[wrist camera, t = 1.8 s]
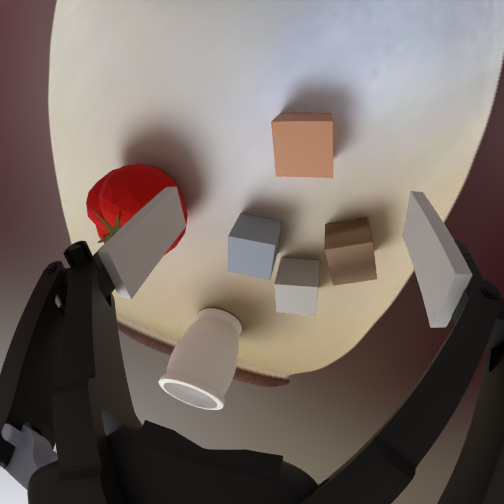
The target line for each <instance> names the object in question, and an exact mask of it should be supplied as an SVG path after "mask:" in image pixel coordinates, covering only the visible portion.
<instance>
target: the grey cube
mask: <svg viewBox="0 0 504 504" xmlns="http://www.w3.org/2000/svg"><path fill="white" fill-rule="evenodd" d="M319 268H320V260H310V259H293V258H281V260H280V264H279V268H278V272H277V276H276V280H275V284H274V286H275V299H276V312H279V313H290V314H301V315H314V316H315V315H316V306H317V295H318V283H319Z"/></svg>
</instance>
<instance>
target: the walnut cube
mask: <svg viewBox="0 0 504 504" xmlns="http://www.w3.org/2000/svg"><path fill="white" fill-rule="evenodd" d="M324 250H325V254H326V258H327V262H328V266H329V270H330V274H331V278H332V282H333V285H341V284H348V283H355V282H361V281H368V280H375V279H377V275H376V265H375V256H374V248H373V241H372V236H371V232H370V227H369V223H368V219H367V217H364V218H359V219H353V220H347V221H342V222H336V223H330V224H325V248H324Z"/></svg>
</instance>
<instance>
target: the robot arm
mask: <svg viewBox="0 0 504 504" xmlns="http://www.w3.org/2000/svg"><path fill="white" fill-rule="evenodd" d="M185 227H186V222H185V218H184V214H183V210H182V206H181V202H180V198H179V194H178V190H177V187H166V188H165V189H163V190H162V191H161V192H160V193H159V194H158V195H156V196H155V197H154V198H153V199H152V200H151V201H150V202H148V203H147V204H146V205H145V206H144V207H143V208H142V209H141V210H140V211H138V212H137V213H136V214H135V215H134V216H133V217H132V218H131V219H130V220H129V221H128V222H127V223H126V224H125V225H124V226H122V227H121V228H120V229H119V230H118V231H117V232H116V233H115V234H114V235H113V236H112V237H111V238H110V239H109V240H108V241H107V242H106V243H105V244H104V245H103V246H102V247H101V248H100V249H99V250H98V251H97V252H96V253H95V254H94V255H93V256H92V254H91V251H90V249H89V247H88V245H87V243H86V241H79V242H76V243H74V244H72V245H71V246H69V247H68V248H67V249H66V250H65V252H64V255H65V258H66V260H67V262H68V264H69V265H70V267H71V268H66V269H65V267H64V266H63V264H62V262H61V261H56V262H53V263H51V264H49V265H48V267H46V269H45V270H44V271H43V273H42V275H41V277H40V279H39V281H38V283H37V285H36V286H35V288H34V291H33V292H32V295H31V297H30V299H29V301H28V303H27V305H26V307H25V310H24V312H23V314H22V316H21V319H20V321H19V323H18V326H17V328H16V331H15V333H14V336H13V339H12V341H11V344H10V347H9V349H8V352H7V355H6V358H5V361H4V364H3V368H2V371H1V374H0V468H1V469H3V470H5V471H7V472H8V473H9V474H10V475H11V476H13V477H14V478H15V479H16V480H17V481H18V482H19V483H20V484H21V485H22V486H23V487H25V488H26V489H27V490H28V502H29V503H28V504H391V503H392V502H393V501H394V500H395V499H396V498H397V497H398V496H399V495H400V493H401V492H402V491H403V490H404V489H405V488H406V487H407V486H408V484H409V483H410V482H411V480H412V479H413V477H414V475H415V469H416V467H417V465H418V464H419V463H420V461H421V460H422V459H423V457H424V456H425V455H426V453H427V452H428V451H429V449H430V448H431V447H432V445H433V444H434V442H435V441H436V440H437V438H438V437H439V435H440V434H441V432H442V431H443V429H444V428H445V426H446V424H447V423H448V421H449V420H450V418H451V416H452V415H453V413H454V411H455V410H456V408H457V406H458V404H459V403H460V401H461V399H462V397H463V395H464V393H465V391H466V390H467V387H468V386H469V384H470V382H471V380H472V377H473V375H474V373H475V371H476V369H477V366H478V365H479V362H480V360H481V358H482V355H483V353H484V350H485V348H486V347H487V350H486V357H485V364H484V370H483V375H482V380H481V386H480V390H479V395H478V399H477V403H476V407H475V411H474V415H473V418H472V422H471V425H470V428H469V431H468V434H467V437H466V440H465V443H464V446H463V448H462V451H461V453H460V456H459V459H458V461H457V463H456V466H455V468H454V471H453V473H452V475H451V477H450V479H449V481H448V484H447V486H446V488H445V490H444V492H443V494H442V496H441V497H440V499H439V501H438V503H437V504H504V298H503V297H502V295H501V292H500V290H499V289H498V288H497V286H495V285H494V284H493V283H492V282H489V281H487V280H484V278H483V277H482V275H481V273H480V271H479V269H478V267H477V265H476V263H475V262H474V259H473V258H472V256H470V252H469V251H468V249H467V247H466V246H465V245H464V244H463V243H462V242H461V241H459V240H454V239H453V238H452V236H451V235H450V233H449V231H448V230H447V228H446V226H445V225H444V223H443V222H442V220H441V218H440V217H439V215H438V214H437V212H436V211H435V209H434V208H433V206H432V205H431V203H430V202H429V200H428V199H427V197H426V196H425V195H424V193H423V192H415V191H410V197H409V203H408V209H407V214H406V220H405V225H404V230H403V235H402V236H403V238H404V241H405V244H406V247H407V249H408V252H409V255H410V258H411V261H412V264H413V267H414V270H415V273H416V276H417V279H418V282H419V286H420V289H421V293H422V296H423V299H424V303H425V307H426V311H427V315H428V319H429V323H430V327H446V326H447V324H448V323H449V321H450V319H451V317H452V320H453V323H454V326H453V328H452V329H451V331H450V333H449V334H448V336H447V338H446V339H445V341H444V343H443V345H442V346H441V348H440V350H439V351H438V353H437V354H436V356H435V358H434V359H433V361H432V362H431V364H430V365H429V367H428V368H427V370H426V371H425V373H424V374H423V376H422V377H421V378H420V380H419V381H418V382H417V384H416V385H415V387H414V388H413V389H412V391H411V392H410V393H409V394H408V396H407V397H406V398H405V400H404V401H403V402H402V404H401V405H400V406H399V407H398V408H397V410H396V411H395V412H394V413H393V414H392V415H391V417H390V418H389V419H388V420H387V421H386V422H385V424H384V425H383V426H382V427H381V428H380V429H379V430H378V431H377V432H376V433H375V434H374V435H373V436H372V438H371V439H370V440H369V441H368V442H367V443H366V444H365V445H364V446H363V447H362V448H361V449H360V450H359V451H358V452H357V453H356V454H355V455H353V456H352V457H351V458H350V459H349V460H348V461H347V462H346V463H345V464H344V465H342V466H341V467H340V468H339V469H338V470H336V471H335V472H334V473H333V474H332V475H330V476H329V477H328V478H327V479H326V480H324V481H323V482H322V483H321V484H319V485H318V484H317V483H316V482H315V480H314V479H313V478H312V477H310V476H309V475H308V474H307V473H305V472H304V471H303V470H301V469H300V468H298V467H296V466H294V465H292V464H290V463H287V462H285V461H283V456H281V455H274V454H267V453H261V452H256V451H250V450H211V449H204V448H202V447H200V446H198V445H197V444H195V443H193V442H192V441H190V440H188V439H187V438H185V437H184V436H182V435H180V434H178V433H177V432H176V431H174V430H171V429H168V428H166V427H163V426H160V425H157V424H155V423H152V422H149V421H147V420H145V422H144V424H143V426H142V424H141V422H140V421H139V420H138V418H137V416H136V414H135V412H134V409H133V405H132V401H131V396H130V392H129V388H128V383H127V379H126V374H125V369H124V364H123V358H122V353H121V348H120V340H119V335H118V326H117V319H116V310H115V301H114V297H113V295H112V292H113V290H114V289H116V291H117V293H118V294H119V296H120V297H121V298H126V299H132V298H133V297H134V295H135V294H136V292H137V291H138V290H139V288H140V287H141V285H142V284H143V283H144V281H145V280H146V278H147V277H148V276H149V274H150V273H151V272H152V270H153V269H154V268H155V266H156V265H157V264H158V262H159V261H160V260H161V258H162V257H163V256H164V254H165V253H166V252H167V250H168V249H169V248H170V246H171V245H172V244H173V243H174V241H175V240H176V239H177V237H178V236H179V235H180V234H181V232H182V231H183V230H184V229H185ZM55 298H57V299H58V301H59V302H60V304H61V305H60V307H59V308H58V306H57V305H56V303H55ZM55 442H56V450H57V453H56V452H55V451H53V449H54V446H55Z"/></svg>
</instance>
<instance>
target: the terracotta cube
mask: <svg viewBox="0 0 504 504" xmlns="http://www.w3.org/2000/svg"><path fill="white" fill-rule="evenodd" d="M271 125H272V135H273V146H274V157H275V169H276V177H322V178H333V121H332V116H331V113H280V114H279V115H278V116H277V117H276V118H275V119H274V120H273V121H272V122H271Z"/></svg>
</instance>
